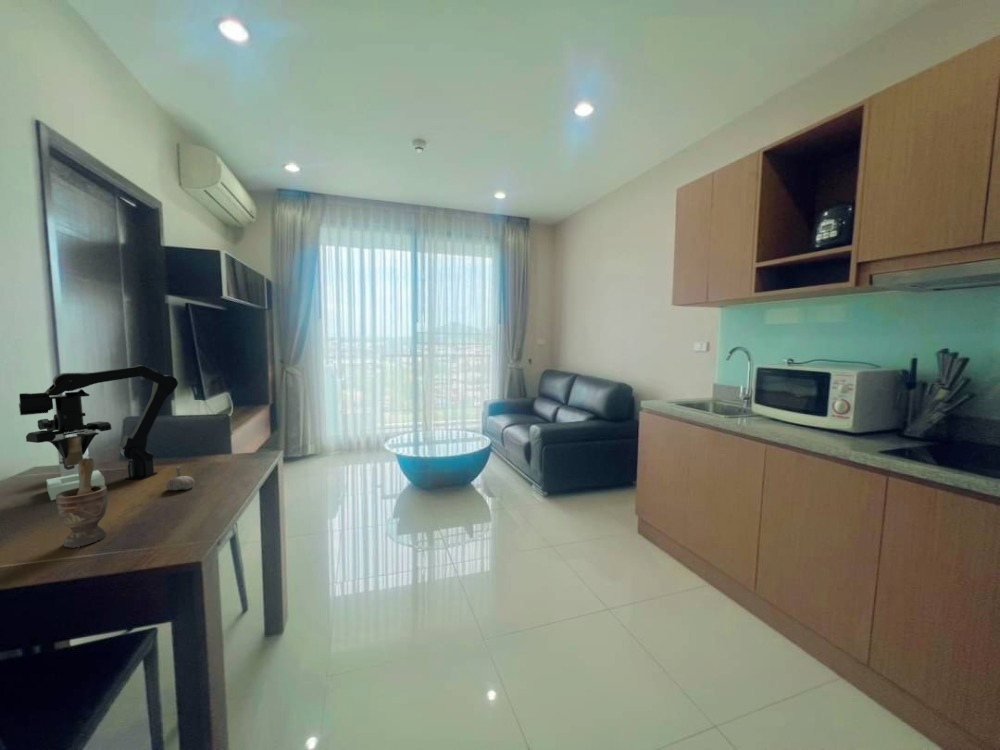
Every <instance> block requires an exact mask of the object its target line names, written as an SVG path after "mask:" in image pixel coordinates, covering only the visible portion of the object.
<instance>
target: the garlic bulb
mask: <svg viewBox="0 0 1000 750" xmlns="http://www.w3.org/2000/svg"><path fill="white" fill-rule="evenodd" d="M176 474H177V475H176V476H175V477H172V478H170V479H169V480H167V484H166V489H167V490H168V491H178V490H180V491H181V490H183V491H184V490H189V489H191V488H193V487H194V486H195V484H196V481H195V479H194V478H193V477H192V476H187V475H182V471H181V466H178V467H176Z"/></svg>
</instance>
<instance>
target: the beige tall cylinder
mask: <svg viewBox="0 0 1000 750" xmlns="http://www.w3.org/2000/svg"><path fill="white" fill-rule="evenodd" d="M64 439H67V443H68V455H67V458H66V459H65V464H66V466H71V465H77V464H79V462H80V460H82V459H83V453H82V442H81V436H77V435H75V436H68V437H64Z"/></svg>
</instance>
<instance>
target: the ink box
mask: <svg viewBox="0 0 1000 750" xmlns="http://www.w3.org/2000/svg"><path fill="white" fill-rule="evenodd" d="M57 453H58V464H59V473H60V474H59V475H60V477H63V476H69V475H74V474H79V473H78V464H77V465H71V466H66V464H65V458H63V457H62V456H61V454H60V453H59V451H58V450H57ZM89 456H90V455H89V447H88V448H87V450H86V452H85V453H84V455H83V459H85V458H90V457H89Z"/></svg>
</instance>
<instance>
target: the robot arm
mask: <svg viewBox="0 0 1000 750" xmlns="http://www.w3.org/2000/svg"><path fill="white" fill-rule="evenodd" d="M137 377H141V378H143V379H144V380H147V381H148V382H150V383H153V384H152V387H151V396H150V398H149V400H148V402H147V404H146V406H145V408H144V409H143V410H144V411H143V412H142V414H141V416H140V418H139V420H138V423H137V424H136V426H135V428H134V430H133V432H132V433H130V435H129V436H127V435H123V438H122V440H121V442H120V444H119V445H118V447H119V452H120V454H121V455H122V456H123V457H125V458H126V459H128V460H129V461H128V462H127V463H128V464H127V475H128V476H125V480H144V479H146V478H150V477H151V476H154V475H157V474H158V471H154V456H155V455H154V454H152V453H151V452H150V451H148V450H146V449H147V445H148V438H149V433H150V432H151V429H152V428H153V425H154V423H155V421H156V420H157V418H158V415H159V414H160V413H161V412H160V411H161V410H162V407H163V406H164V403H165V401H166V400H167V399H168V398H169V397H170V396H171V395H172V394H173V393H174V392H175V390H176V389H177V388H178V384H179V382H178V380H177V378H176V377H174V376H172V375H167V374H162V373H160V372H158V371H156V370H154V369H151V368H149V367H148V366H146V365H141V364H139V365H137V364H136V365H135V366H129V367H121V368H115V369H114V368H113V369H108V370H102V371H101V370H100V371H94V372H63V373H62V372H61V373H59V374H56V376H54V377H53V379H52V384H51V386H50V387H49V388H48V389H46V390H45V391H44V392H36V393H35V392H34V393H30V392H29V393H28V392H26V393H19V394H18V397H19V403H18V408H19V415H20V416H29V415H37V414H38V415H40V414H49V411H51V410H53V409H54V403H53V401H55V411H56V413H55V414H53V419H50V420H49V419H48V418H42V419H39V420H37V428H38V430H36V431H31V432H28V433H27V434H26V436H25V441H26V442H28V443H34V444H35V443H37V444H39V443H41V444H42V443H46V442H47V443H51V444H52V445H53V447H55V448H56V450H57V452H58V451H59V453H60V454H61V456H62V457H63V458H65V459H66V458H67V455H68V443H67V439H64V438H65V437H64V436H67V435H68V436H69V435H74V434H76V436H81V442H82V453H83V455H84V453H85V452H86V450H87V448H88V449H89V447H90V446H89V445H90V444H91V442H92V441H93V439H94V438H95V437H96V436H97V435H99V432H105V431H106V432H107V431H110V430H112V424H111V423H110V422H109V421H102V420H101V421H94V422H93V421H92V422H88V423H87V424H85V423H84V417H86V412H83V404H82V397H90V394H89V393H87V392H85V390H84V389H83V388H87V387H89V386H92V385H95V384H99V383H101V384H102V383H106V382H107V383H108V382H114V381H118V380H119V381H120V380H125V379H133V378H137ZM76 390H78V391H76ZM63 393H64V394H63ZM61 394H63V395H61ZM96 431H99V432H96Z"/></svg>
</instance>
